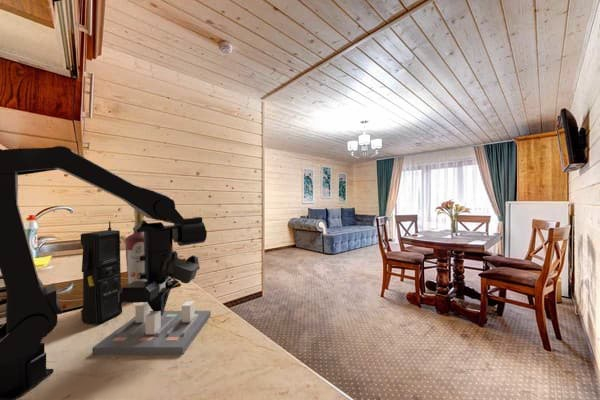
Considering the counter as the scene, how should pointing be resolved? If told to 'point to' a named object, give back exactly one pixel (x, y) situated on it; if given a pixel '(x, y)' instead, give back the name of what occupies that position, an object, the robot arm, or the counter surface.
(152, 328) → the breaker middle
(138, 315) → the block
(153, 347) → the panel
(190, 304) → the block
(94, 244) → the portable radio
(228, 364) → the counter surface
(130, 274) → the liquor
